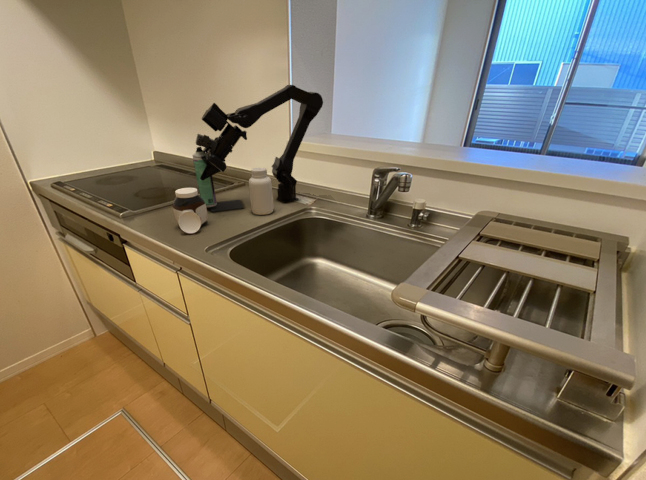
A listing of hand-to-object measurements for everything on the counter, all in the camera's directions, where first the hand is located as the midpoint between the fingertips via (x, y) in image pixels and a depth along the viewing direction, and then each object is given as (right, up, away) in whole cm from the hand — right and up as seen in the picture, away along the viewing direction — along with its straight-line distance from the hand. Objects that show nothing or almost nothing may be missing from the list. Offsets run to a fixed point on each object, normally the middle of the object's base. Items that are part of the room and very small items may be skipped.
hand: (200, 177), depth 121 cm
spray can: (+2, -8, +6) cm, 10 cm away
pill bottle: (+22, -11, +4) cm, 25 cm away
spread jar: (0, -20, -8) cm, 22 cm away
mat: (+7, -8, +9) cm, 14 cm away
